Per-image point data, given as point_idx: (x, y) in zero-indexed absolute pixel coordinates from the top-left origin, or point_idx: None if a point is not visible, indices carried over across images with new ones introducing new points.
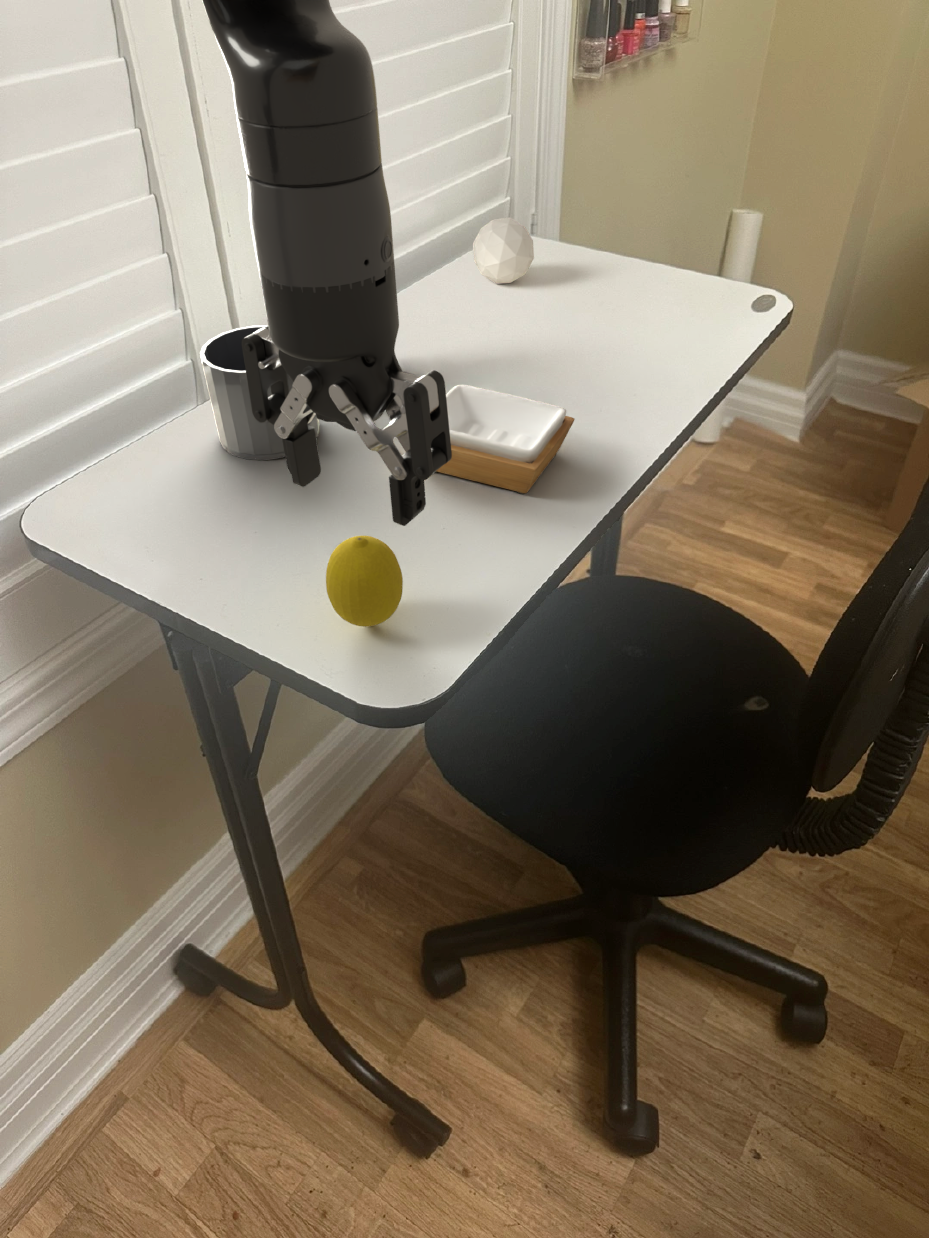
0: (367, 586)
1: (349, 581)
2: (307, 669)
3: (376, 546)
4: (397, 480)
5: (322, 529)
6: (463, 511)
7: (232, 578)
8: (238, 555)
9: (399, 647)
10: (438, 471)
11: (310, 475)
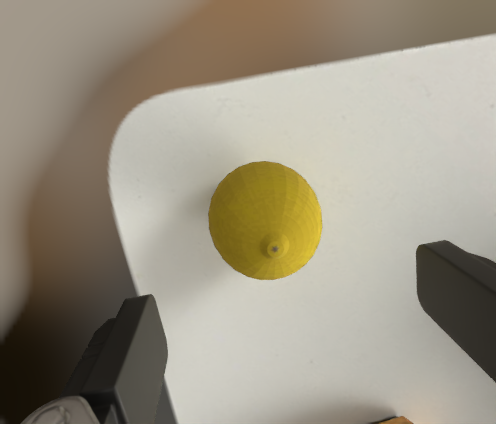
0: (222, 200)
1: (245, 185)
2: (252, 88)
3: (251, 260)
4: (81, 392)
5: None
6: (315, 393)
7: (458, 135)
8: (483, 170)
9: (197, 193)
10: (385, 421)
11: (426, 280)
